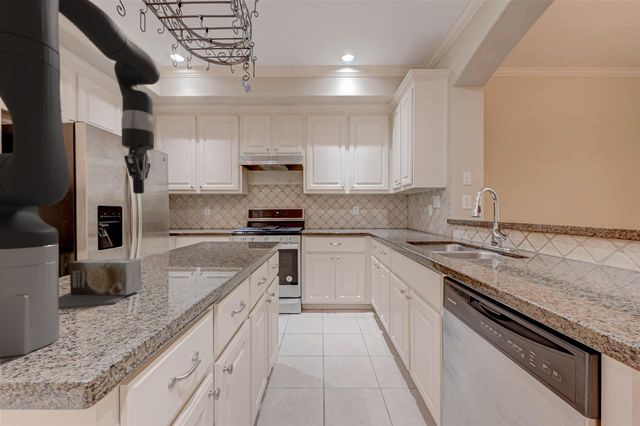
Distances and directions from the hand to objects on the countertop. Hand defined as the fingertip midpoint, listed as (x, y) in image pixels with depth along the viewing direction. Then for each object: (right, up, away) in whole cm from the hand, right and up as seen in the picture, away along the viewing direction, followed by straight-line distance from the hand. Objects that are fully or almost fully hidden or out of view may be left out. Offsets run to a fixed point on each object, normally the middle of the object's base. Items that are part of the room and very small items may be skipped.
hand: (138, 193), depth 78 cm
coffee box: (-1, -23, 0) cm, 23 cm away
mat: (-11, -28, -4) cm, 30 cm away
